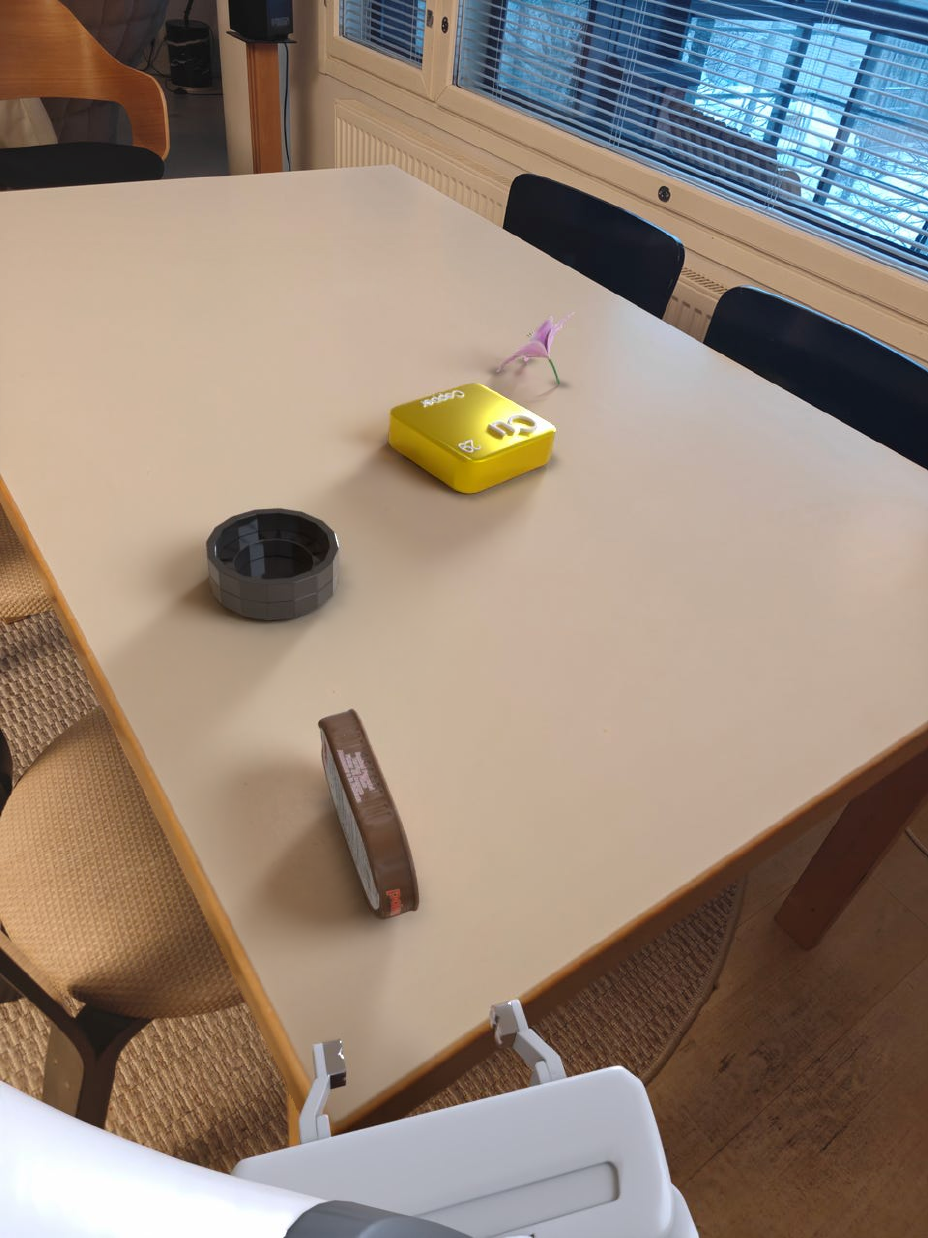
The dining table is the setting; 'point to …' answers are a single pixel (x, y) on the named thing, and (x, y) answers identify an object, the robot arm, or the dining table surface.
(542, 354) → the lily
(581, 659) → the dining table surface
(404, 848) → the tin
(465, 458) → the element tile
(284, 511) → the dark faceted ashtray
